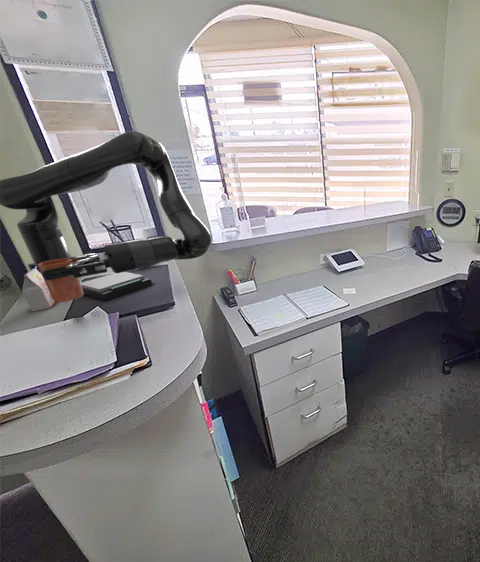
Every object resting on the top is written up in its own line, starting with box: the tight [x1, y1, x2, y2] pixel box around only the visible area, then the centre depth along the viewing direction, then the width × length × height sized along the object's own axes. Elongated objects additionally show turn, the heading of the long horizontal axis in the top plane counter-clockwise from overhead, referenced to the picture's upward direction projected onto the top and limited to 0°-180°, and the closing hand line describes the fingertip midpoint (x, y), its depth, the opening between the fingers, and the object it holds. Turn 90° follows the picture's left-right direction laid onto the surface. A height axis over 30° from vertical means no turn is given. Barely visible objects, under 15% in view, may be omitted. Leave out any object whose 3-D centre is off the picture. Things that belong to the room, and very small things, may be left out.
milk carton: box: [21, 268, 56, 312], centre depth 85 cm, size 4×7×10 cm, turn 30°
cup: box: [37, 258, 84, 303], centre depth 73 cm, size 5×5×9 cm
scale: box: [80, 271, 153, 301], centre depth 96 cm, size 15×13×3 cm
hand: (42, 273), depth 70 cm, fingers closed on cup, 5 cm apart
